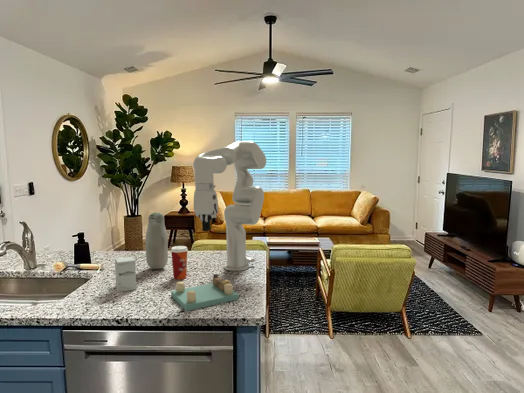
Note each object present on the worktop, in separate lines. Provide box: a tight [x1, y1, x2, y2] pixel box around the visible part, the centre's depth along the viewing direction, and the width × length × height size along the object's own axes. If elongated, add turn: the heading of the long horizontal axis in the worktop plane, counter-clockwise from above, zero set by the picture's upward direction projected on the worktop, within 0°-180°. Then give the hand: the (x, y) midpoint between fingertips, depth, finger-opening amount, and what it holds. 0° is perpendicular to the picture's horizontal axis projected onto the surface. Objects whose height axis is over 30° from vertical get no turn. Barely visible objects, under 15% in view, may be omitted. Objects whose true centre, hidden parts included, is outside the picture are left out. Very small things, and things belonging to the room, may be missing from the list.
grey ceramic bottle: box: [144, 212, 169, 270], centre depth 180 cm, size 10×10×28 cm
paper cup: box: [170, 245, 189, 280], centre depth 167 cm, size 8×8×14 cm
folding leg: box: [212, 273, 230, 292], centre depth 148 cm, size 11×2×4 cm, turn 33°
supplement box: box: [114, 256, 137, 293], centre depth 153 cm, size 7×7×13 cm
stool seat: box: [170, 279, 239, 312], centre depth 143 cm, size 21×17×6 cm
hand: (206, 230), depth 153 cm, fingers closed
